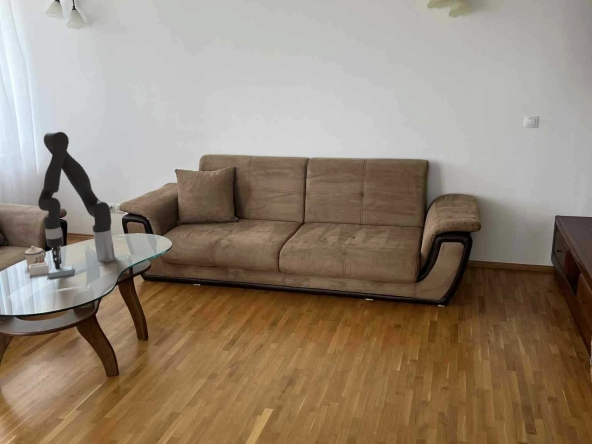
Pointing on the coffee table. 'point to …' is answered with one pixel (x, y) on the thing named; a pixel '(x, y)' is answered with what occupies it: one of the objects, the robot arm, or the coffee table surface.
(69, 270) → the lid
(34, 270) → the white open cubby box
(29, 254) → the teacup with lid
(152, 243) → the coffee table surface
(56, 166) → the robot arm
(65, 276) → the mat
